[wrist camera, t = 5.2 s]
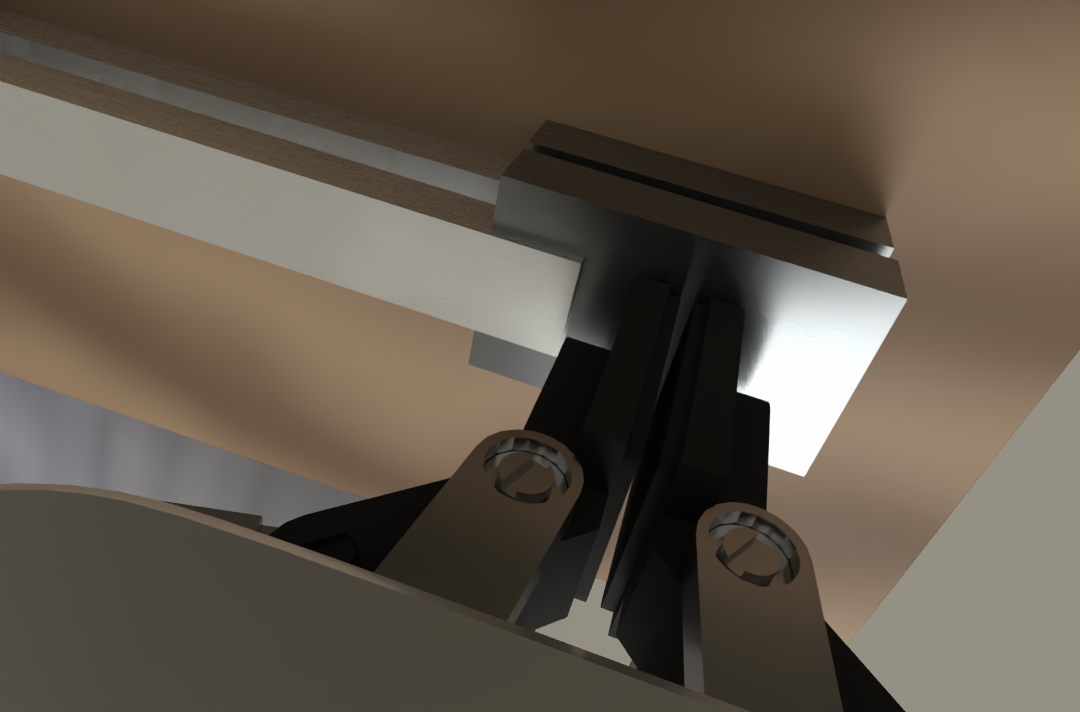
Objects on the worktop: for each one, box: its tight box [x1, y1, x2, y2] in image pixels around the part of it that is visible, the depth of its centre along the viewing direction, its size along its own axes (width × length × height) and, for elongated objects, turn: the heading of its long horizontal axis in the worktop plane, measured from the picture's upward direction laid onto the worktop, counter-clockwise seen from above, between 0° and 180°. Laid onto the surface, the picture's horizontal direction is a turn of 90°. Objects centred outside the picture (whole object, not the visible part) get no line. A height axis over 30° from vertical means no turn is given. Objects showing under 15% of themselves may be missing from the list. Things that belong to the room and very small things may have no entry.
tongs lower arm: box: [0, 9, 894, 258], centre depth 14 cm, size 23×4×1 cm, turn 79°
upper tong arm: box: [0, 52, 907, 477], centre depth 13 cm, size 20×4×2 cm, turn 79°
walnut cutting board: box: [0, 0, 1080, 646], centre depth 16 cm, size 19×30×2 cm, turn 79°
